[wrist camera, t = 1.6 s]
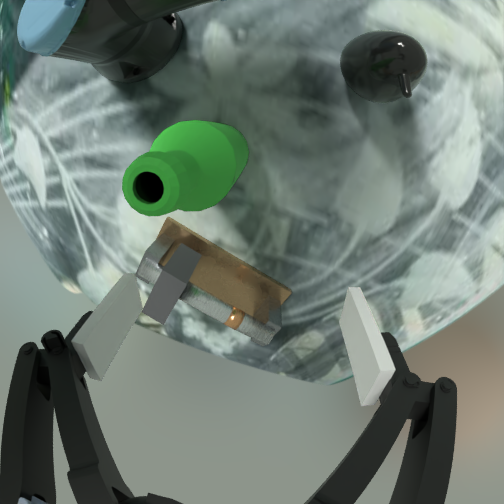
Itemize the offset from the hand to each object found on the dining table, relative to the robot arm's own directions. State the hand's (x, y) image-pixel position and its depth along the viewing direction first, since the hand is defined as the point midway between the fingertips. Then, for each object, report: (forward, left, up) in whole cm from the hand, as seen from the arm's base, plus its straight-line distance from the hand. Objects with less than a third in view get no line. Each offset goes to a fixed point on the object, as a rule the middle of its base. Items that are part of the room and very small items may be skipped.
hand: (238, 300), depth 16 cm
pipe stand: (+2, -16, -27) cm, 31 cm away
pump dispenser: (+3, +25, -27) cm, 37 cm away
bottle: (-8, +2, -27) cm, 28 cm away
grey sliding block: (-4, -16, -23) cm, 28 cm away
